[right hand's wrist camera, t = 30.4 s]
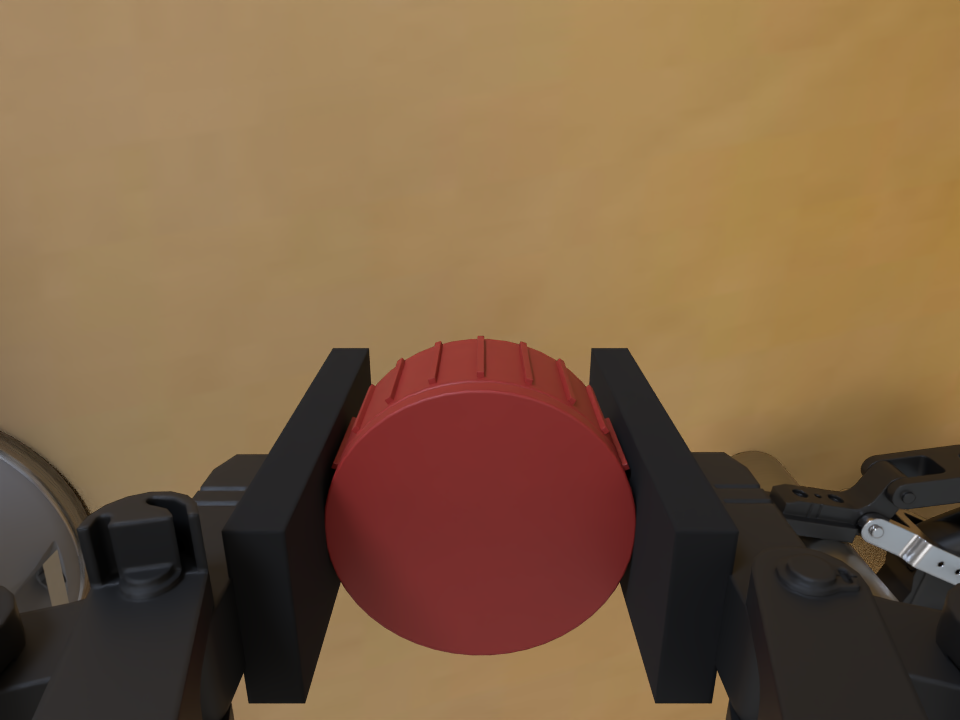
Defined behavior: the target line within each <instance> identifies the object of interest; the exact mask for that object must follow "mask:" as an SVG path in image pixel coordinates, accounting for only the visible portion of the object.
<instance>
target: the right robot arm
mask: <svg viewBox="0 0 960 720" xmlns="http://www.w3.org/2000/svg"><path fill="white" fill-rule="evenodd" d="M589 385H590V386H591V387H592V388H593V391H594V393H595V396H596V398H597V401H598V403H599V406H600V408H601V411H602V414H603V416H604V419H606V418H609V419H610V421H611V424H612V426H613V429H614V431H615V433H616V436H617V438H618V441H619V443H620V446H621V448H622V451H623V453H624V456H625V458H626V460H627V463H628V466H629V469H628V470H625V473H626V476H627V478H628V481H629V483H630V486H631V488H632V493H633V497H634V502H635V507H636V528H635V539H634V547H633V551H632V555H631V559H630V561H629V564H628V566H627V569H626V571H625V574H624V576H623V577H622V579H621V581H620V585H621V588H622V592H623V595H624V598H625V602H626V605H627V609H628V612H629V615H630V619H631V622H632V626H633V629H634V632H635V636H636V639H637V643H638V646H639V649H640V653H641V656H642V660H643V663H644V666H645V670H646V673H647V677H648V680H649V683H650V687H651V690H652V694H653V697H654V700H655V703H712V699H713V692H714V686H715V680H716V674H717V671H718V673H719V676H720V678H721V680H722V683H723V685H724V687H725V690H726V692H727V695H728V697H729V703H728V709H727V715H726V720H960V583H957V584H956V585H955V586H954V587H952V588H951V589H950V590H949V591H948V592H947V595H946V599H945V602H944V605H943V609H942V610H937V609H932V608H927V607H922V606H918V605H913V604H908V603H903V602H898V601H893V600H889V599H885V598H882V597H878V596H874V595H873V594H872V592H871V590H870V587H869V586H868V585H867V583H866V582H865V581H864V579H863V578H862V577H861V575H860V574H859V573H858V572H857V571H855V570H854V569H853V568H851V567H850V566H848V565H847V564H846V563H844V562H843V561H842V560H839V559H837V558H835V557H832V556H830V555H828V554H826V553H823V552H821V551H817V550H813V549H809V548H807V547H806V546H805V545H804V543H803V542H802V541H801V539H800V538H799V537H798V535H797V534H796V533H795V531H794V530H793V528H792V527H791V526H790V524H789V523H788V522H787V520H786V519H785V518H784V516H783V515H782V514H781V512H780V511H779V510H778V508H777V507H776V506H775V504H774V503H771V499H770V497H769V496H768V495H767V493H766V492H765V491H764V489H761V488H760V484H759V483H758V481H757V480H756V479H755V477H754V476H753V475H752V473H751V472H750V471H749V469H748V468H747V467H746V466H744V465H743V464H741V463H740V462H738V461H737V460H735V459H733V458H732V457H730V456H729V455H727V454H726V453H724V452H690V450H689V448H688V447H687V445H686V443H685V442H684V440H683V438H682V437H681V435H680V434H679V432H678V430H677V429H676V427H675V425H674V424H673V422H672V420H671V419H670V417H669V416H668V414H667V412H666V411H665V409H664V407H663V406H662V404H661V402H660V401H659V399H658V398H657V396H656V394H655V393H654V391H653V389H652V388H651V386H650V384H649V383H648V381H647V380H646V378H645V376H644V375H643V373H642V371H641V370H640V368H639V366H638V365H637V363H636V362H635V360H634V358H633V357H632V355H631V353H630V352H629V350H628V348H592V349H591V366H590V382H589ZM370 386H371V375H370V358H369V348H333V349H332V351H331V352H330V354H329V356H328V357H327V359H326V361H325V362H324V364H323V366H322V367H321V369H320V370H319V372H318V374H317V375H316V377H315V379H314V380H313V382H312V384H311V385H310V387H309V388H308V390H307V392H306V393H305V395H304V397H303V398H302V400H301V402H300V403H299V405H298V406H297V408H296V410H295V411H294V413H293V415H292V416H291V418H290V420H289V421H288V423H287V424H286V426H285V428H284V429H283V431H282V433H281V434H280V436H279V438H278V439H277V441H276V442H275V444H274V446H273V447H272V449H271V451H270V452H269V454H237V455H235V456H234V457H232V458H231V459H229V460H228V461H226V462H225V463H223V464H221V465H220V466H218V467H217V468H215V469H214V470H213V471H212V473H211V474H210V475H209V477H208V478H207V479H206V481H205V482H204V483H203V485H202V486H201V490H200V491H198V492H197V493H196V494H195V496H194V497H193V498H190V497H189V496H188V495H184V494H180V493H176V492H171V491H169V492H147V493H143V494H138V495H133V496H128V497H125V498H123V499H120V500H117V501H115V502H112V503H110V504H107V505H105V506H103V507H102V508H100V509H98V510H97V511H95V512H94V513H92V514H90V515H89V516H88V515H87V513H86V511H85V509H84V507H83V506H82V504H81V502H80V500H79V499H78V497H77V496H76V494H75V493H74V491H73V490H72V489H71V487H70V486H69V485H68V483H67V482H66V481H65V480H64V479H63V478H62V476H61V475H60V474H59V473H58V472H57V471H56V470H55V469H54V468H53V467H52V466H51V465H50V464H49V463H47V462H46V461H45V460H44V459H43V458H42V457H40V456H39V455H38V454H37V453H35V452H34V451H33V450H31V449H30V448H28V447H27V446H25V445H24V444H22V443H21V442H20V441H18V440H16V439H14V438H13V437H11V436H9V435H7V434H5V433H3V432H1V431H0V720H234V715H233V709H232V703H231V702H232V699H233V697H234V694H235V692H236V690H237V687H238V685H239V682H240V680H241V678H242V675H243V673H244V677H245V683H246V690H247V696H248V702H249V703H305V702H306V699H307V695H308V692H309V688H310V685H311V682H312V678H313V675H314V671H315V668H316V665H317V661H318V658H319V654H320V651H321V647H322V644H323V641H324V637H325V634H326V630H327V627H328V624H329V620H330V617H331V613H332V610H333V607H334V603H335V600H336V596H337V593H338V590H339V586H340V583H341V581H340V579H339V578H338V576H337V574H336V572H335V569H334V567H333V564H332V562H331V560H330V556H329V552H328V548H327V541H326V531H325V504H326V499H327V494H328V490H329V487H330V484H331V482H332V479H333V476H334V474H335V471H336V470H335V469H333V468H331V467H332V464H333V462H334V459H335V457H336V454H337V452H338V450H339V447H340V445H341V443H342V440H343V438H344V435H345V433H346V431H347V428H348V426H349V424H350V421H351V419H352V417H355V418H357V416H358V413H359V411H360V408H361V406H362V403H363V401H364V398H365V396H366V393H367V391H368V389H369V387H370Z"/></svg>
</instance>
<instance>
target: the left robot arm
mask: <svg viewBox="0 0 960 720" xmlns="http://www.w3.org/2000/svg"><path fill="white" fill-rule="evenodd" d="M861 473H862V475H863V476H862V478H861V479H860V480H859V481H858V482H857V483H856V484H855V485H854V486H853V487H852V488H846V489H843V490H841V491H831V490H824V489H817V488H811V487H808V488H807V487H804V486H797V485H791V484H781V485H776V486H773V487H772V490H771V492H769V491H765V492H766V493H767V495H768V496H769V497H770V499H771V503H774V504H775V506H776V507H777V508H778V510H779V511H780V512H781V514H782V515H783V516H784V518H785V519H786V520H787V522H788V523H789V524H790V526H791V527H792V528H793V530H794V531H795V533H796V534H797V535H800V536H806V537H813V538H820V539H827V540H835V541H841V542H848V543H852V542H853V540H854V538H855V535H860V536H861V537H862V538H863V539H864V540H865V541H866V542H868V543H870V544H872V545H875V546H877V547H879V548H881V549H884V550H886V551H887V554H886V561H885V564H884V565H883V566H882V568H881V569H880V570H879V571H878V573H877V574H876V575H877V576H878V578H879V579H880V580H881V581H882V582H883V583H884V584H885V586H886V587H887V588H888V589H889V590H890V591H891V593H892V594H893V595H894V596H895V597H896V598H897V600H898V601H899V602H903V603H908V604H913V605H918V606H922V607H927V608H932V609H937V610H942V609H943V605H944V602H945V599H946V595H947V592H948V591H949V590H950V589H951V588H952V587H954V586H955V585H956V584H957V583H960V507H959V508H956V509H954V510H951V511H949V512H946V513H943V514H941V515H938V516H935V517H933V518H930V519H925V518H923V517H921V516H919V515H916V514H914V513H912V512H910V511H908V510H905V509H913V508H921V507H929V506H937V505H945V504H953V503H960V445H952V446H945V447H937V448H929V449H922V450H914V451H906V452H899V453H891V454H883V455H875V456H872V457H869V458H868V459H866V460H865V461H864V462H863V464H862V466H861Z"/></svg>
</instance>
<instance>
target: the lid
mask: <svg viewBox="0 0 960 720" xmlns="http://www.w3.org/2000/svg"><path fill="white" fill-rule="evenodd" d="M331 468H333V469H335V470H336V471H335V474H334V476H333V479H332V482H331V484H330V487H329V490H328V494H327V499H326V504H325V531H326V541H327V548H328V552H329V556H330V560H331V562H332V564H333V567H334V569H335V572H336V574H337V576H338V578H339V579H340V581H341V583H342V584H343V586H344V588H345V589H346V591H347V592H348V593H349V595H350V596H351V597H352V598H353V600H354V601H355V602H356V603H357V604H358V605H359V606H360V607H361V608H362V609H363V610H364V611H365V612H366V613H367V614H368V615H369V616H370V617H371V618H373V619H374V620H375V621H377V622H378V623H379V624H381V625H382V626H383V627H385V628H386V629H388V630H390V631H392V632H393V633H395V634H397V635H398V636H400V637H402V638H405V639H407V640H409V641H412V642H414V643H416V644H419V645H422V646H425V647H428V648H431V649H435V650H439V651H444V652H449V653H455V654H465V655H497V654H506V653H512V652H517V651H522V650H527V649H530V648H533V647H536V646H539V645H542V644H545V643H547V642H550V641H552V640H554V639H556V638H559V637H561V636H563V635H564V634H566V633H568V632H569V631H571V630H573V629H575V628H576V627H578V626H579V625H580V624H582V623H583V622H584V621H586V620H587V619H588V618H590V617H591V616H592V615H593V614H594V613H595V612H596V611H597V610H598V609H599V608H600V607H601V606H602V605H603V604H604V603H605V602H606V601H607V600H608V598H609V597H610V596H611V594H612V593H613V592H614V591H615V589H616V588H617V586H618V584H619V582H620V581H621V579H622V577H623V576H624V574H625V571H626V569H627V566H628V564H629V561H630V559H631V555H632V551H633V547H634V539H635V528H636V507H635V502H634V497H633V493H632V488H631V486H630V483H629V481H628V478H627V476H626V473H625V470H628V469H629V466H628V463H627V460H626V458H625V456H624V453H623V451H622V448H621V446H620V443H619V441H618V438H617V436H616V433H615V431H614V429H613V426H612V424H611V421H610V419H609V418H606V419H604V416H603V414H602V411H601V408H600V406H599V403H598V401H597V398H596V396H595V393H594V391H593V388H592V387H591V386H590V385H588V386H587V387H586V386H585V385H584V384H583V383H582V381H580V380H579V379H578V378H577V377H576V376H575V375H574V374H573V373H572V372H571V371H570V370H569V369H567V368H566V366H565V363H564V361H563V360H561V359H558V360H557V361H556V360H555V359H553V358H551V357H549V356H547V355H545V354H544V353H542V352H539V351H537V350H534V349H532V348H529V347H527V344H526V343H524V342H520V344H516V343H512V342H508V341H500V340H492V339H484V336H478V339H468V340H461V341H453V342H449V343H445V344H442V342H441V341H440V342H436V343H435V346H434V347H432V348H429V349H427V350H424V351H422V352H419V353H417V354H415V355H414V356H412V357H410V358H408V359H406V360H404V359H403V358H401V359H400V360H398V362H397V364H396V367H395V368H394V369H392V370H391V371H390V372H389V373H388V374H387V375H386V376H385V377H384V378H383V379H382V380H381V381H380V382H379V383H378V384H377V385H376V386H374V385H373V384H372V385H371V386H370V387H369V389H368V391H367V393H366V396H365V398H364V401H363V403H362V406H361V408H360V411H359V413H358V416H357V418H355V417H352V419H351V421H350V424H349V426H348V428H347V431H346V433H345V435H344V438H343V440H342V443H341V445H340V447H339V450H338V452H337V454H336V457H335V459H334V462H333V464H332V467H331Z"/></svg>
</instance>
